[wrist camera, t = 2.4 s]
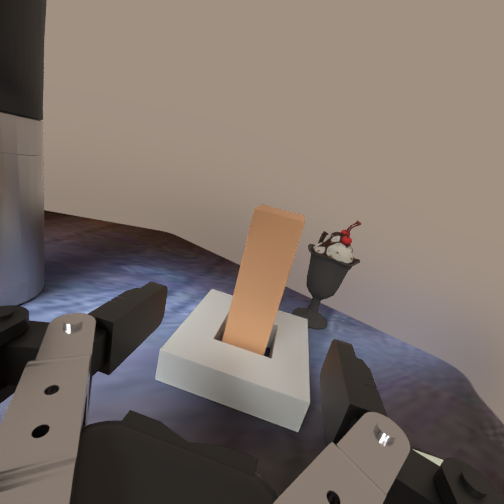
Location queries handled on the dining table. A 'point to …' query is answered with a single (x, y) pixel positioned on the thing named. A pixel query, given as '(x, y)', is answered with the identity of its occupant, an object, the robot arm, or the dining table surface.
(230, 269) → the dining table surface
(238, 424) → the dining table surface
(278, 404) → the socket block
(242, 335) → the peg
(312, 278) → the sundae
